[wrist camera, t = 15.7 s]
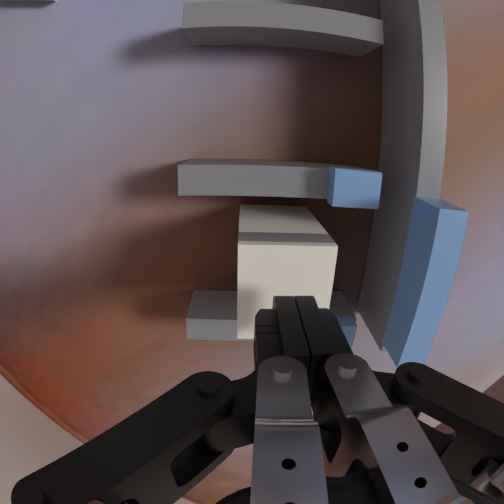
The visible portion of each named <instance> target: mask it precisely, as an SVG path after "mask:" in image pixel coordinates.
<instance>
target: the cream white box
mask: <svg viewBox="0 0 504 504" xmlns="http://www.w3.org/2000/svg"><path fill="white" fill-rule="evenodd" d="M337 252H338V246H337V244H336V243H335V242H334V240H333V239H332V238H331V237H330V235H329V234H328V233H327V232H326V230H325V229H324V228H323V226H322V225H321V224H320V223H319V221H318V220H317V219H316V218H315V217H314V215H313V214H312V213H311V212H310V210H309V209H308V208H307V207H306V206H286V205H247V204H240V214H239V233H238V284H237V339H254V327H255V315H256V314H257V313H258V311H259V310H260V309H272V305H273V296H293V297H294V296H314V298H315V300H316V303H317V305H318V308H327V309H329V306H330V300H331V294H332V287H333V281H334V274H335V267H336V259H337Z"/></svg>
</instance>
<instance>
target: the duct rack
mask: <svg viewBox="0 0 504 504" xmlns="http://www.w3.org/2000/svg"><path fill="white" fill-rule="evenodd" d="M380 13H381V20H379V19H375V18H371V17H367V16H363V15H358V14H353V13H349V12H343V11H338V10H332V9H326V8H319V7H312V6H304V5H295V4H285V3H272V2H249V1H218V2H196V3H184V8H183V19H182V29H183V31H184V33H185V34H186V36H187V38H188V39H189V41H190V42H191V44H192V46H209V45H252V46H274V47H288V48H299V49H308V50H317V51H324V52H331V53H338V54H344V55H350V56H355V57H362V56H364V55H366V54H367V53H369V52H371V51H373V50H375V49H376V48H378V47H380V46H382V62H383V87H382V121H381V139H380V154H379V166H378V171H375V170H367V169H364V168H361V167H358V166H352V165H341V164H330V163H316V162H301V161H282V160H255V159H189V160H187V161H185V162H183V163H181V164H179V165H178V196H182V195H213V196H268V197H296V198H318V199H327V202H328V203H329V204H330V205H331V206H332V207H349V208H366V209H374V212H373V220H372V227H371V234H370V240H369V247H368V253H367V259H366V265H365V270H364V276H363V281H362V287H361V292H360V297H359V302H358V306H357V310H358V311H359V313H360V315H361V317H362V318H363V320H364V322H365V323H366V325H367V327H368V329H369V330H370V332H371V334H372V336H373V338H374V339H375V341H376V343H377V345H378V346H379V348H380V350H381V351H388V353H389V355H390V356H391V358H392V360H393V362H394V363H395V365H396V367H397V368H398V366H400V365H401V364H403V363H406V362H417V363H421V364H424V362H425V360H426V358H427V355H428V353H429V350H430V348H431V345H432V343H433V340H434V337H435V335H436V332H437V329H438V326H439V324H440V321H441V318H442V315H443V312H444V309H445V306H446V303H447V300H448V296H449V293H450V290H451V286H452V283H453V279H454V276H455V272H456V268H457V265H458V261H459V257H460V252H461V248H462V244H463V239H464V235H465V230H466V225H467V220H468V214H469V212H468V211H466V210H464V209H462V208H459V207H457V206H455V205H453V204H451V203H448V202H446V201H444V200H441V199H439V198H440V191H441V183H442V175H443V166H444V155H445V143H446V126H447V60H446V44H445V33H444V23H443V15H442V7H441V0H380ZM329 310H330V311H331V312H332V313H333V314H335V315H336V317H337V320H338V322H339V325H340V326H341V328H342V330H343V331H342V332H343V333H344V335H345V337H346V339H347V341H348V343H349V346H350V348H351V349H352V345H353V341H354V337H355V333H356V329H357V325H356V323H355V322H356V317H355V315H354V313H353V311H352V310H351V308H350V306H349V304H348V303H347V301H346V299H345V297H344V295H343V294H342V292H341V291H332V294H331V300H330V306H329ZM186 329H187V339H196V340H224V341H254V339H237V291H231V290H194V291H193V294H192V297H191V301H190V304H189V308H188V311H187V315H186Z"/></svg>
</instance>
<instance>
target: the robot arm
mask: <svg viewBox="0 0 504 504" xmlns="http://www.w3.org/2000/svg"><path fill="white" fill-rule="evenodd" d="M342 331H343V330H342V328H341V326H340V325H339V322H338V320H337V317H336V315H335V314H333V313H332V312H331V311H330V310H329V309H327V308H318V305H317V303H316V300H315V298H314V296H294V297H293V296H273V305H272V309H260V310H259V311H258V313H257V314H256V315H255V327H254V365H255V370H254V371H253V372H252V373H251V374H250V375H248V376H247V377H244V378H242V379H238V380H234V381H231V380H230V379H229V378H228V377H226V376H225V375H223V374H220V373H217V372H211V371H204V372H199V373H195V374H193V375H191V376H189V377H188V378H186V379H185V380H184V381H182V382H181V383H179V384H178V385H176V386H175V387H173V388H172V389H170V390H169V391H167V392H166V393H164V394H163V395H161V396H160V397H158V398H157V399H155V400H154V401H152V402H151V403H149V404H148V405H146V406H145V407H143V408H142V409H140V410H139V411H137V412H135V413H134V414H132V415H131V416H129V417H128V418H126V419H124V420H123V421H121V422H120V423H118V424H117V425H115V426H113V427H112V428H110V429H108V430H107V431H105V432H104V433H102V434H100V435H99V436H97V437H95V438H94V439H92V440H90V441H89V442H87V443H85V444H84V445H82V446H80V447H78V448H77V449H75V450H73V451H72V452H70V453H68V454H66V455H65V456H63V457H61V458H59V459H57V460H56V461H54V462H52V463H50V464H48V465H46V466H45V467H43V468H41V469H39V470H37V471H36V472H33V473H32V474H30V475H28V476H26V477H24V478H22V479H21V480H19V481H18V482H17V483H16V485H15V486H14V488H13V490H12V494H11V502H12V504H173V503H175V502H176V501H177V500H178V499H179V498H181V497H182V496H183V495H185V494H186V493H187V492H188V491H189V490H191V489H192V488H193V487H194V486H195V485H197V484H198V483H199V482H200V481H201V480H202V479H204V478H205V477H206V476H207V475H208V474H209V473H210V472H212V471H213V470H214V469H215V468H216V467H217V466H218V465H219V464H220V463H222V462H223V461H224V460H225V459H226V458H227V457H228V456H229V455H230V454H231V453H232V452H233V450H234V449H235V448H238V447H242V446H246V445H249V444H253V443H254V445H253V462H252V478H251V487H247V488H244V489H241V490H239V491H236V492H234V493H232V494H230V495H228V496H226V497H225V498H223V499H221V500H220V501H218V502H217V503H216V504H504V403H502V402H499V401H497V400H495V399H493V398H491V397H489V396H487V395H485V394H483V393H481V392H479V391H477V390H475V389H473V388H470V387H468V386H466V385H464V384H462V383H460V382H458V381H456V380H454V379H452V378H450V377H448V376H446V375H444V374H442V373H440V372H438V371H436V370H434V369H432V368H430V367H428V366H426V365H424V364H421V363H417V362H406V363H403V364H401V365H400V366H398V368H397V369H396V372H395V374H393V373H384V372H377V371H373V370H371V368H370V367H369V365H368V363H367V362H366V361H365V360H364V359H362V358H361V357H359V356H356V355H353V352H352V350H351V348H350V346H349V343H348V341H347V339H346V337H345V335H344V333H343V332H342ZM311 407H312V410H313V416H312V410H311ZM421 412H423V413H425V414H427V415H429V416H430V417H432V418H434V419H436V420H438V421H440V422H442V423H444V424H446V425H447V426H449V427H451V428H452V429H454V431H455V432H454V433H453V434H444V433H442V432H440V431H438V430H436V429H434V428H433V427H431V426H429V425H427V424H425V423H423V422H422V421H420V420H418V419H417V418H418V417H419V415H420V413H421Z"/></svg>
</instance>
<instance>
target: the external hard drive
mask: <svg viewBox="0 0 504 504" xmlns="http://www.w3.org/2000/svg"><path fill="white" fill-rule="evenodd" d="M0 1H54V2H56V1H57V0H0Z"/></svg>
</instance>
